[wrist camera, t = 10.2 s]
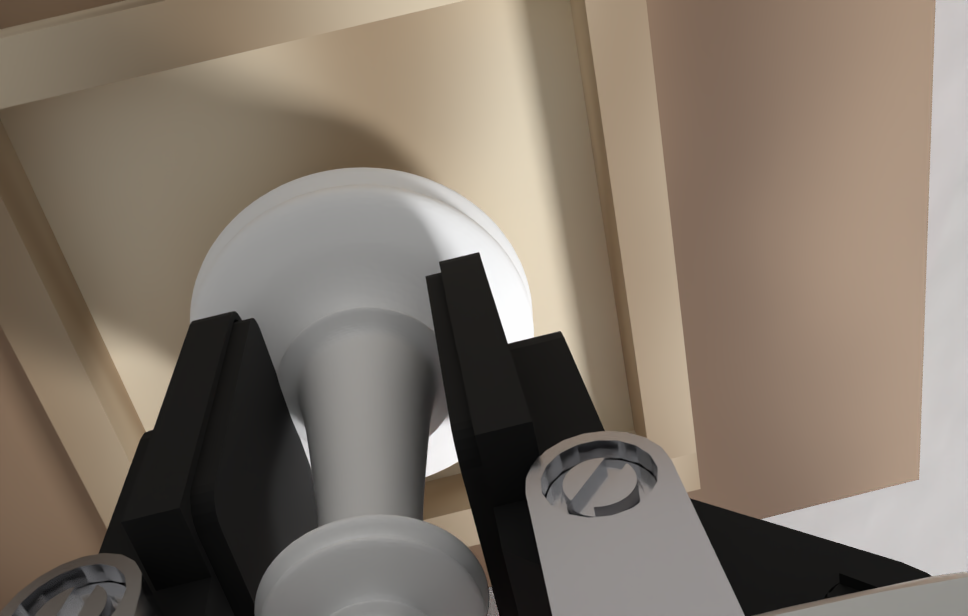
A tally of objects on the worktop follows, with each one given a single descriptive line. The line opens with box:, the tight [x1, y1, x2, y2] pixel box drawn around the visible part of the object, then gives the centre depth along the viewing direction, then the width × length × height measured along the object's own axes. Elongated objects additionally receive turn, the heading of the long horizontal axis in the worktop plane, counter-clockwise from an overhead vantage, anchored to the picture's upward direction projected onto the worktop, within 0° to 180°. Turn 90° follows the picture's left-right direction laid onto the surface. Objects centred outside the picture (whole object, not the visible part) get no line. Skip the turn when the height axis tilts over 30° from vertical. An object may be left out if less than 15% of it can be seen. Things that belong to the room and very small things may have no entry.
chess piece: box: [190, 167, 534, 616], centre depth 9 cm, size 5×5×10 cm
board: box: [0, 0, 935, 612], centre depth 14 cm, size 19×14×3 cm
